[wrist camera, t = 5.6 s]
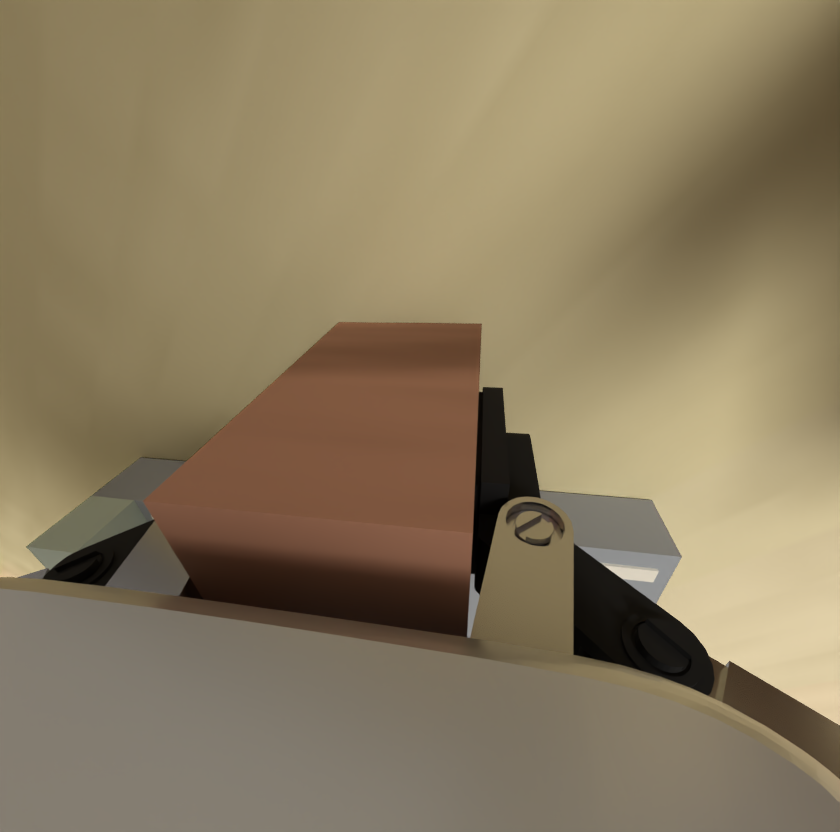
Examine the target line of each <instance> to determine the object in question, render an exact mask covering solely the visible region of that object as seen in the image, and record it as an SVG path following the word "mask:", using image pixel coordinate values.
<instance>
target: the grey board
mask: <svg viewBox="0 0 840 832" xmlns="http://www.w3.org/2000/svg"><path fill="white" fill-rule="evenodd" d="M185 462H186V461H176V460H164V459H152V458H139V459H138V460H137V461H135V462H134V463H133V464H132V465H130V466H129V467H128V468H126V469H125V470H124V471H123V472H121V473H120V474H119V475H117V476H116V477H115V478H114V479H112V480H111V481H110V482H108V483H107V484H106V485H105V486H103V487H102V488H101V489H99V490H98V491H97V492H96V493H94V494H93V495H92V496H90V497H89V498H88V499H87V500H85V501H84V502H83V503H82V504H80V505H79V506H78V507H76V508H75V509H74V510H73V511H71V512H70V513H69V514H67V515H66V516H65V517H64V518H62V519H61V520H60V521H58V522H57V523H56V524H55V525H53V526H52V527H51V528H49V529H48V530H47V531H46V532H44V533H43V534H42V535H40V536H39V537H38V538H37V539H35V540H34V541H33V542H31V543H30V544H29V545H28V546H26V547H27V548H28V549H29V550H30V551H31V552H32V553H33V555H34V556H35V557H36V558H37V559H38V560H39V561H40V562H41V563H42V564H43V565H44V566H45V567H46V568H48V569H49V570H51V569H52V568H53V567H54V566H55V565H56V564H57V563H59V562H60V561H62V560H63V559H64V558H66V557H67V556H69V555H71V554H72V553H74V552H77V551H79V550H81V549H83V548H85V547H88V546H90V545H93V544H95V543H97V542H100V541H102V540H105V539H107V538H110V537H112V536H114V535H117V534H119V533H122V532H124V531H127V530H129V529H131V528H134V527H136V526H139V525H141V524H144V523H146V522H149V521H151V520H153V519H154V518H153V517H152V515H151V514H150V512H149V510H148V509H147V507H146V505H145V504H144V502H143V500H144V499H146V498H147V497H148V496H149V495H150V494H151V493H152V492H153V491H154V490H155V489H157V488H158V487H159V486H160V485H161V484H162V483H163V482H164V481H165V480H166V479H168V478H169V477H170V476H171V475H172V474H173V473H174V472H175V471H176V470H177V469H178V468H180V467H181V466H182V465H183V464H184V463H185ZM540 497H541V499H544V500H547V501H549V502H551V503H553V504H555V505H556V506H558V507H559V508H560V509H562V510H563V511H564V512H565V513H566V514H567V516H568V517H569V519H570V520H571V522H572V526H573V531H574V544H576V545H577V546H578V547H580V548H581V549H582V550H584V551H585V552H586V553H588V554H589V555H591V556H592V557H593V558H595V559H596V560H597V561H599V562H600V563H601V564H603V565H604V566H605V567H607V568H608V569H609V570H611V571H612V572H613V573H615V574H616V575H618V576H619V577H620V578H622V579H623V580H624V581H626V582H627V583H628V584H630V585H631V586H632V587H634V588H635V589H636V590H638V591H639V592H641V593H642V594H643V595H645V596H646V597H647V598H649V599H650V600H651V601H653V602H654V603H655V604H656V603H657V601H658V599H659V597H660V596H661V594H662V592H663V590H664V588H665V587H666V585H667V583H668V581H669V579H670V577H671V576H672V574H673V572H674V570H675V568H676V567H677V565H678V563H679V561H680V559H681V557H682V556H681V555H680V553H679V551H678V549H677V547H676V545H675V543H674V541H673V539H672V537H671V536H670V534H669V532H668V530H667V528H666V526H665V524H664V522H663V520H662V519H661V517H660V515H659V513H658V511H657V509H656V507H655V505H654V503H653V501H652V500H644V499H632V498H620V497H608V496H596V495H584V494H572V493H560V492H548V491H540ZM474 579H475V574H471V576H470V594H469V612H468V629H467V637H468V638H470V636H471V632H472V627H473V623H474V618H475V614H476V610H477V605H478V601H479V597H480V595H479V594H478V593H477V592H476V590H475V588H474Z"/></svg>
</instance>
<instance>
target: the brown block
mask: <svg viewBox="0 0 840 832" xmlns="http://www.w3.org/2000/svg"><path fill="white" fill-rule="evenodd" d="M481 326H482V324H455V323H356V322H339V323H338V324H337V325H335V326H334V327H333V328H332V329H331V330H330V331H329V332H328V333H327V334H326V335H324V336H323V337H322V338H321V339H320V340H319V341H318V342H317V343H316V344H315V345H313V346H312V347H311V348H310V349H309V350H308V351H307V352H306V353H305V354H304V355H302V356H301V357H300V358H299V359H298V360H297V361H296V362H295V363H294V364H293V365H292V366H290V367H289V368H288V369H287V370H286V371H285V372H284V373H283V374H282V375H281V376H279V377H278V378H277V379H276V380H275V381H274V382H273V383H272V384H271V385H270V386H268V387H267V388H266V389H265V390H264V391H263V392H262V393H261V394H260V395H259V396H258V397H256V398H255V399H254V400H253V401H252V402H251V403H250V404H249V405H248V406H247V407H245V408H244V409H243V410H242V411H241V412H240V413H239V414H238V415H237V416H236V417H234V418H233V419H232V420H231V421H230V422H229V423H228V424H227V425H226V426H225V427H223V428H222V429H221V430H220V431H219V432H218V433H217V434H216V435H215V436H214V437H213V438H211V439H210V440H209V441H208V442H207V443H206V444H205V445H204V446H203V447H202V448H200V449H199V450H198V451H197V452H196V453H195V454H194V455H193V456H192V457H191V458H189V459H188V460H187V461H186V462H185V463H184V464H183V465H182V466H181V467H180V468H178V469H177V470H176V471H175V472H174V473H173V474H172V475H171V476H170V477H169V478H168V479H166V480H165V481H164V482H163V483H162V484H161V485H160V486H159V487H158V488H157V489H155V490H154V491H153V492H152V493H151V494H150V495H149V496H148V497H147V498H146V499H144V500H143V502H144V504H145V505H146V507H147V509H148V510H149V512H150V514H151V515H152V517H153V518H154V520H155V522H156V523H157V525H158V527H159V528H160V530H161V531H162V533H163V535H164V536H165V538H166V540H167V541H168V543H169V544H170V546H171V548H172V549H173V551H174V552H175V554H176V556H177V557H178V559H179V561H180V562H181V564H182V565H183V567H184V569H185V570H186V572H187V574H188V575H189V577H190V578H191V580H192V582H193V583H194V585H195V587H196V588H197V590H198V591H199V593H200V595H201V596H202V598H203V599H204V600H210V601H217V602H224V603H231V604H239V605H246V606H253V607H260V608H267V609H274V610H281V611H288V612H295V613H302V614H310V615H317V616H324V617H331V618H338V619H345V620H352V621H358V622H365V623H372V624H379V625H386V626H393V627H399V628H406V629H413V630H420V631H427V632H433V633H440V634H447V635H454V636H461V637H467V629H468V612H469V594H470V576H471V558H472V540H473V519H474V495H475V471H476V446H477V422H478V398H479V374H480V350H481Z"/></svg>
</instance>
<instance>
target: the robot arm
mask: <svg viewBox="0 0 840 832" xmlns="http://www.w3.org/2000/svg"><path fill="white" fill-rule="evenodd" d="M471 574H475V579H474V588H475V590H476V592H477V593H478V594H479V595H480V597H479V601H478V605H477V610H476V614H475V618H474V623H473V627H472V632H471V636H470V638H468V637H461V636H454V635H447V634H440V633H433V632H427V631H420V630H413V629H406V628H399V627H393V626H386V625H379V624H372V623H365V622H358V621H352V620H345V619H338V618H331V617H324V616H317V615H310V614H302V613H295V612H288V611H281V610H274V609H267V608H260V607H253V606H246V605H239V604H231V603H224V602H217V601H210V600H204V599H203V598H202V596H201V595H200V593H199V591H198V590H197V588H196V587H195V585H194V583H193V582H192V580H191V578H190V577H189V575H188V574H187V572H186V570H185V569H184V567H183V565H182V564H181V562H180V561H179V559H178V557H177V556H176V554H175V552H174V551H173V549H172V548H171V546H170V544H169V543H168V541H167V540H166V538H165V536H164V535H163V533H162V531H161V530H160V528H159V527H158V525H157V523H156V522H155V520H154V519H153V520H151V521H149V522H146V523H144V524H141V525H139V526H136V527H134V528H131V529H129V530H127V531H124V532H122V533H119V534H117V535H114V536H112V537H110V538H107V539H105V540H102V541H100V542H97V543H95V544H93V545H90V546H88V547H85V548H83V549H81V550H79V551H77V552H74V553H72V554H71V555H69V556H67V557H66V558H64V559H63V560H62V561H60V562H59V563H57V564H56V565H55V566H54V567H53V568H52V569H51V570H49V569H48V568H46V569H43V570H40V571H37V572H34V573H30V574H27V575H24V576H21V577H17V578H15V577H0V832H840V725H838V724H836V723H834V722H833V721H831V720H829V719H828V718H826V717H824V716H822V715H821V714H819V713H817V712H816V711H814V710H812V709H811V708H809V707H807V706H805V705H804V704H802V703H800V702H799V701H797V700H795V699H794V698H792V697H790V696H788V695H787V694H785V693H783V692H782V691H780V690H778V689H777V688H775V687H773V686H771V685H770V684H768V683H766V682H765V681H763V680H761V679H759V678H758V677H756V676H754V675H753V674H751V673H749V672H748V671H746V670H744V669H742V668H741V667H739V666H737V665H736V664H734V663H732V662H731V661H729V662H728V663H727V664H726V666H725V665H723V664H721V663H719V662H718V661H716V660H714V659H713V658H711V657H709V656H708V653H707V651H706V649H705V648H704V646H703V645H702V644H701V643H700V641H699V640H698V639H697V637H696V636H695V635H694V634H693V633H692V632H691V631H690V630H689V629H688V628H687V627H685V626H684V625H683V624H682V623H681V622H680V621H678V620H677V619H676V618H674V617H673V616H672V615H670V614H669V613H668V612H666V611H665V610H664V609H662V608H661V607H659V606H658V605H657V604H655V603H654V602H653V601H651V600H650V599H649V598H647V597H646V596H645V595H643V594H642V593H641V592H639V591H638V590H636V589H635V588H634V587H632V586H631V585H630V584H628V583H627V582H626V581H624V580H623V579H622V578H620V577H619V576H618V575H616V574H615V573H613V572H612V571H611V570H609V569H608V568H607V567H605V566H604V565H603V564H601V563H600V562H599V561H597V560H596V559H595V558H593V557H592V556H591V555H589V554H588V553H586V552H585V551H584V550H582V549H581V548H580V547H578V546H577V545H576V544H574V531H573V526H572V522H571V520H570V519H569V517H568V516H567V514H566V513H565V512H564V511H563V510H562V509H560V508H559V507H558V506H556V505H555V504H553V503H551V502H549V501H547V500H544V499H541V497H540V491H539V485H538V479H537V473H536V468H535V462H534V456H533V450H532V444H531V438H530V435H529V434H518V433H506V427H505V414H504V401H503V388H489V387H483V392H479V398H478V422H477V446H476V471H475V495H474V519H473V540H472V558H471Z"/></svg>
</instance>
